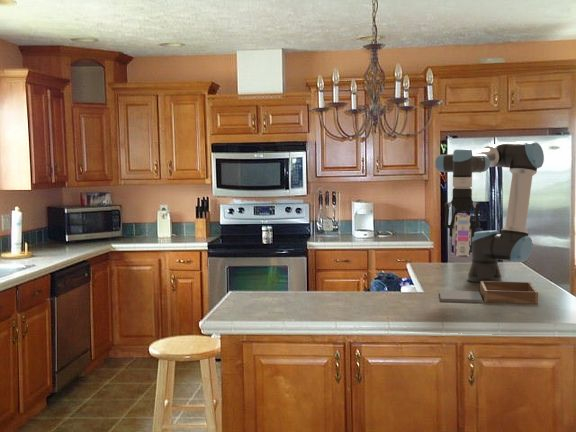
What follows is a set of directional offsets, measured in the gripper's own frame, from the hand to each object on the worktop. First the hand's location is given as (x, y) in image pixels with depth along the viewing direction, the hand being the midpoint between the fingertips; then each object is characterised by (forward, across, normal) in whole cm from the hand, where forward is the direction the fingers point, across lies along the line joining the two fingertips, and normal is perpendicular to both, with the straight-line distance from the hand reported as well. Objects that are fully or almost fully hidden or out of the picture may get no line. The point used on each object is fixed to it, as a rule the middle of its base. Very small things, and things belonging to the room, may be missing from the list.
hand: (461, 244), depth 263 cm
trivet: (+22, 0, 0) cm, 22 cm away
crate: (+22, +19, +4) cm, 29 cm away
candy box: (+4, 0, 0) cm, 4 cm away
